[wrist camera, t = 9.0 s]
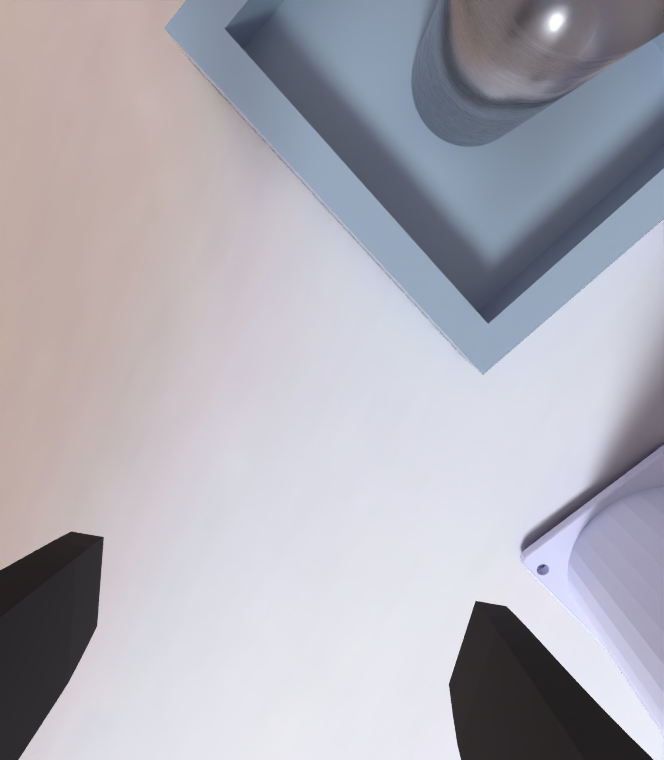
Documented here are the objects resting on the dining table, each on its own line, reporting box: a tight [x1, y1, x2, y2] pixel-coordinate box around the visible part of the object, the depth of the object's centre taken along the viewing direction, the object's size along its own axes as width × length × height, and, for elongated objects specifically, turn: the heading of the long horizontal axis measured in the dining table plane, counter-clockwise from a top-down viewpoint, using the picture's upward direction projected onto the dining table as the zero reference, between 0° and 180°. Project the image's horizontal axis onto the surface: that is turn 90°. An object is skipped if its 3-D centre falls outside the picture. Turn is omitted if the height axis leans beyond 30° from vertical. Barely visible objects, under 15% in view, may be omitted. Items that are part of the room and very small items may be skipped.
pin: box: [411, 0, 664, 147], centre depth 12 cm, size 4×4×8 cm
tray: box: [165, 0, 664, 374], centre depth 15 cm, size 14×12×2 cm
